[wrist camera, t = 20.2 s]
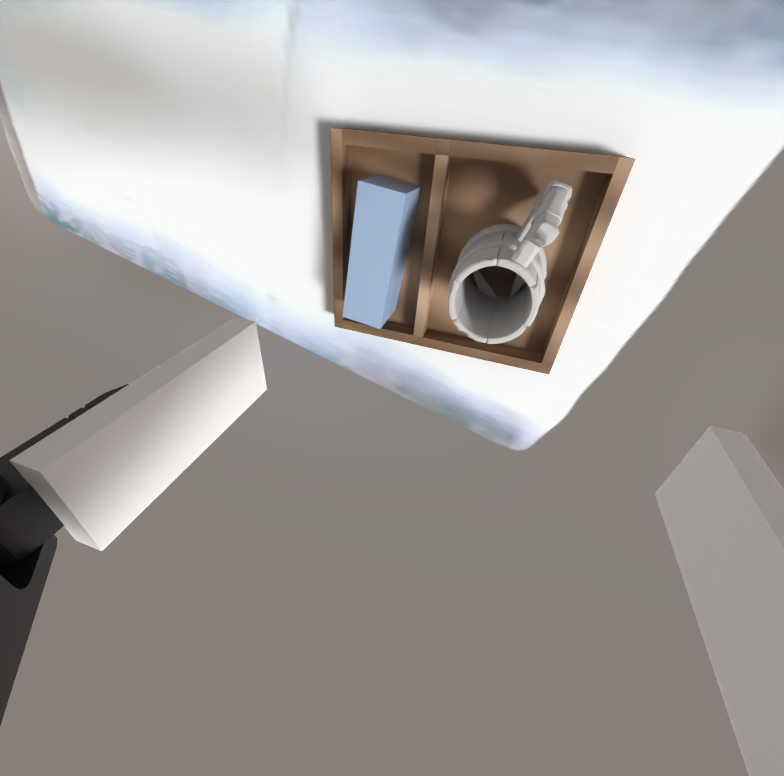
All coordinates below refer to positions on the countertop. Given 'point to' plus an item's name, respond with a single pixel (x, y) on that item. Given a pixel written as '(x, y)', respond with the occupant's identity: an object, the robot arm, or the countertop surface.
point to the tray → (474, 231)
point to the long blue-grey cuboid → (379, 248)
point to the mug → (513, 251)
